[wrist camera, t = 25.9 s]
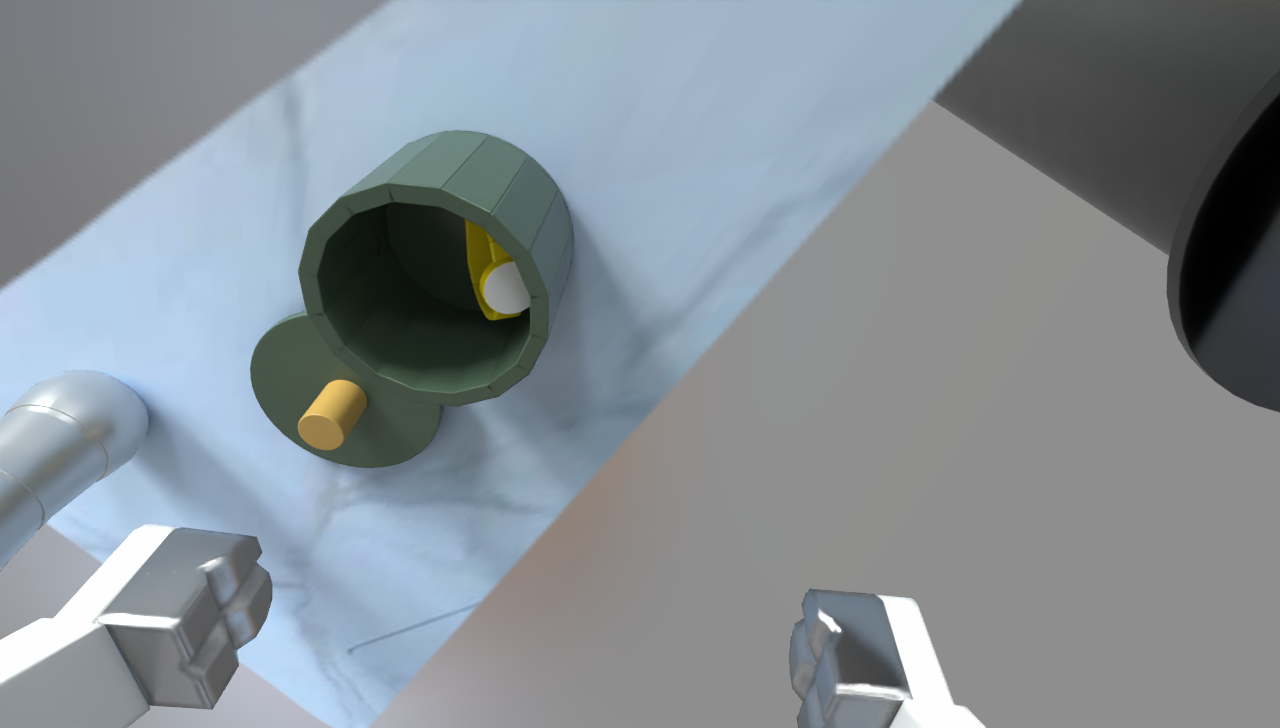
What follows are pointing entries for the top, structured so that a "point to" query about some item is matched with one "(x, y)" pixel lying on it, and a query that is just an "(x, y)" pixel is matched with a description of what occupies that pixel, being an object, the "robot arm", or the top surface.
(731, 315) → the top surface
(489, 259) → the watch
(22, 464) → the plastic bottle
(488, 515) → the top surface
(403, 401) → the tin lid
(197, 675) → the robot arm
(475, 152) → the tin
